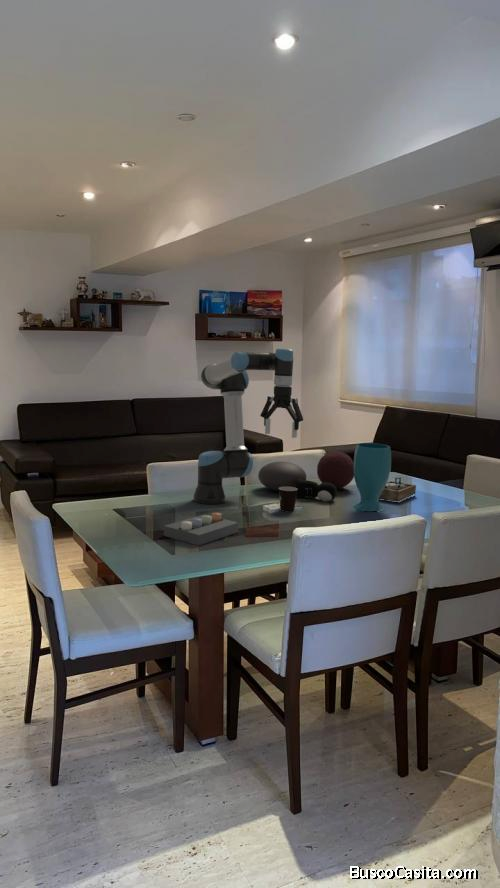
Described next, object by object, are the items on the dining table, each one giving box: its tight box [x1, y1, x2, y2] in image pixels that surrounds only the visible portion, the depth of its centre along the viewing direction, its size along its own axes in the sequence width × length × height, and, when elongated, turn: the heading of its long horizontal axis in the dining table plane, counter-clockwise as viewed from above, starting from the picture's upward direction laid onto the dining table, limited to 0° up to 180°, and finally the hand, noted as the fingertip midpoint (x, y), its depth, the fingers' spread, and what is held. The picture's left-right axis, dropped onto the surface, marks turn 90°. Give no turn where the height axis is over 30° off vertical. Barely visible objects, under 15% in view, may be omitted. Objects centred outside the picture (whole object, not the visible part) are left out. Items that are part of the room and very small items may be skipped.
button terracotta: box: [210, 512, 222, 522], centre depth 272 cm, size 4×4×4 cm
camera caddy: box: [379, 480, 417, 501], centre depth 341 cm, size 14×21×6 cm, turn 144°
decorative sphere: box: [316, 450, 355, 490], centre depth 355 cm, size 20×20×20 cm
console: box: [163, 513, 239, 546], centre depth 265 cm, size 18×24×4 cm
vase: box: [352, 442, 392, 512], centre depth 315 cm, size 17×17×30 cm
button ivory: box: [181, 520, 192, 531], centre depth 257 cm, size 4×4×4 cm
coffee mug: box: [278, 487, 298, 512], centre depth 309 cm, size 12×9×10 cm
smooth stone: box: [257, 460, 307, 492], centre depth 347 cm, size 25×25×15 cm
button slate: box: [192, 517, 202, 528], centre depth 262 cm, size 4×4×4 cm
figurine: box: [296, 479, 337, 502], centre depth 331 cm, size 9×9×20 cm
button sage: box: [202, 514, 212, 525], centre depth 267 cm, size 4×4×4 cm
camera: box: [384, 476, 407, 491], centre depth 341 cm, size 15×8×10 cm, turn 122°
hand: (280, 435), depth 286 cm, fingers open, 13 cm apart
